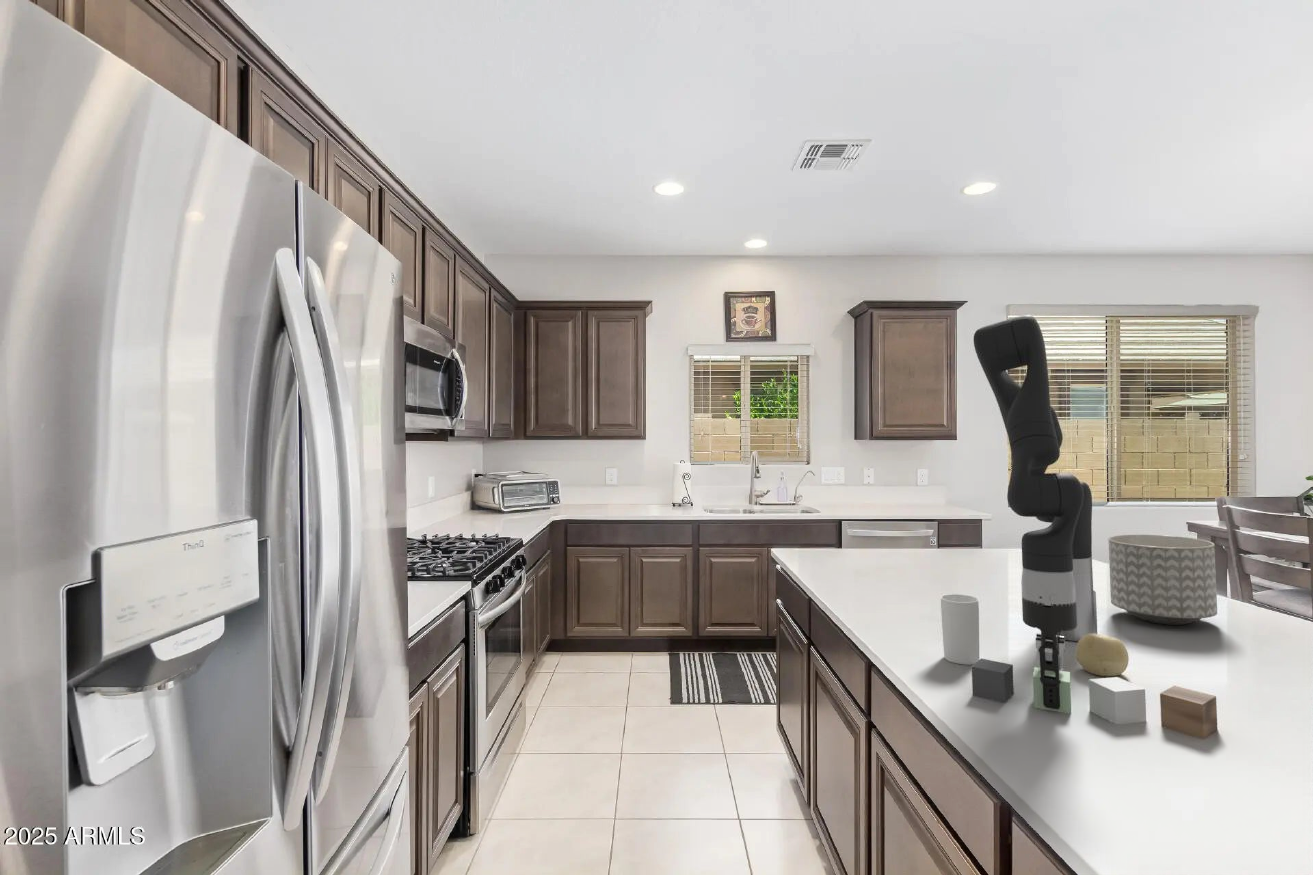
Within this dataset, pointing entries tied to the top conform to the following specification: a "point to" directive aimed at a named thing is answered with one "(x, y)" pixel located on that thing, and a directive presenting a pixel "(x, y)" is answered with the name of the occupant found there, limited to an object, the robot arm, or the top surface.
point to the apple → (1102, 655)
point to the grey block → (1117, 700)
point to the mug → (960, 628)
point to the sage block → (1063, 688)
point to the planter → (1163, 577)
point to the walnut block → (1188, 712)
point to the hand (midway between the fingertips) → (1052, 699)
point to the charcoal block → (992, 680)
